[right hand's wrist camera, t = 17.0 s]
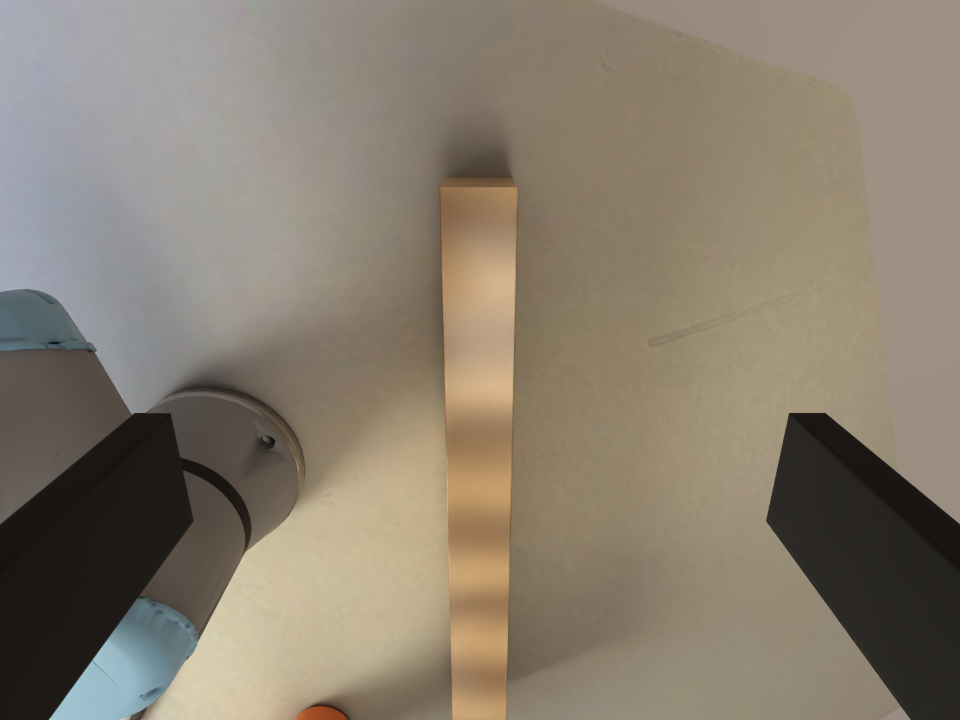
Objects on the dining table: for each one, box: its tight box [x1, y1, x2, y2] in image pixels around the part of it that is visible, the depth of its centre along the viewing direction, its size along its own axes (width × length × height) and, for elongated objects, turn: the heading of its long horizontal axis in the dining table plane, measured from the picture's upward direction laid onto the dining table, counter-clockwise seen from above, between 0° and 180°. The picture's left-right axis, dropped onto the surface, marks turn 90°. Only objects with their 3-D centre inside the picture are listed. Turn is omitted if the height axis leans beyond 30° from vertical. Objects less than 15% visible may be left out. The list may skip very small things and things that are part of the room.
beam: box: [440, 177, 518, 720], centre depth 51 cm, size 54×5×8 cm, turn 0°
